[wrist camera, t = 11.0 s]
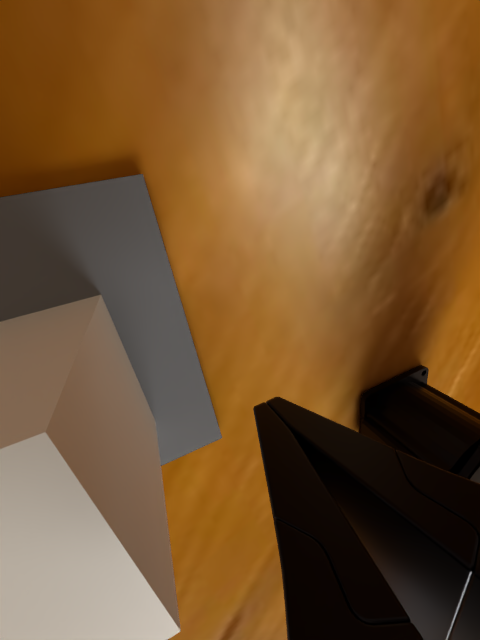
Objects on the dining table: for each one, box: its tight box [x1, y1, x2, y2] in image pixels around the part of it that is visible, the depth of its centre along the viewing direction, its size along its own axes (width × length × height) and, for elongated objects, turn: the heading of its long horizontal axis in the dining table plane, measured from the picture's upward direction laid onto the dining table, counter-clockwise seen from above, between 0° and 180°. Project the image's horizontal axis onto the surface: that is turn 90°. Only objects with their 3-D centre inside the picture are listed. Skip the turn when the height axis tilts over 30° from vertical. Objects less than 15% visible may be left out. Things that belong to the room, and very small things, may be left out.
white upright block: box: [0, 295, 181, 640], centre depth 8 cm, size 4×7×8 cm, turn 11°
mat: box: [0, 174, 222, 466], centre depth 11 cm, size 16×14×1 cm
